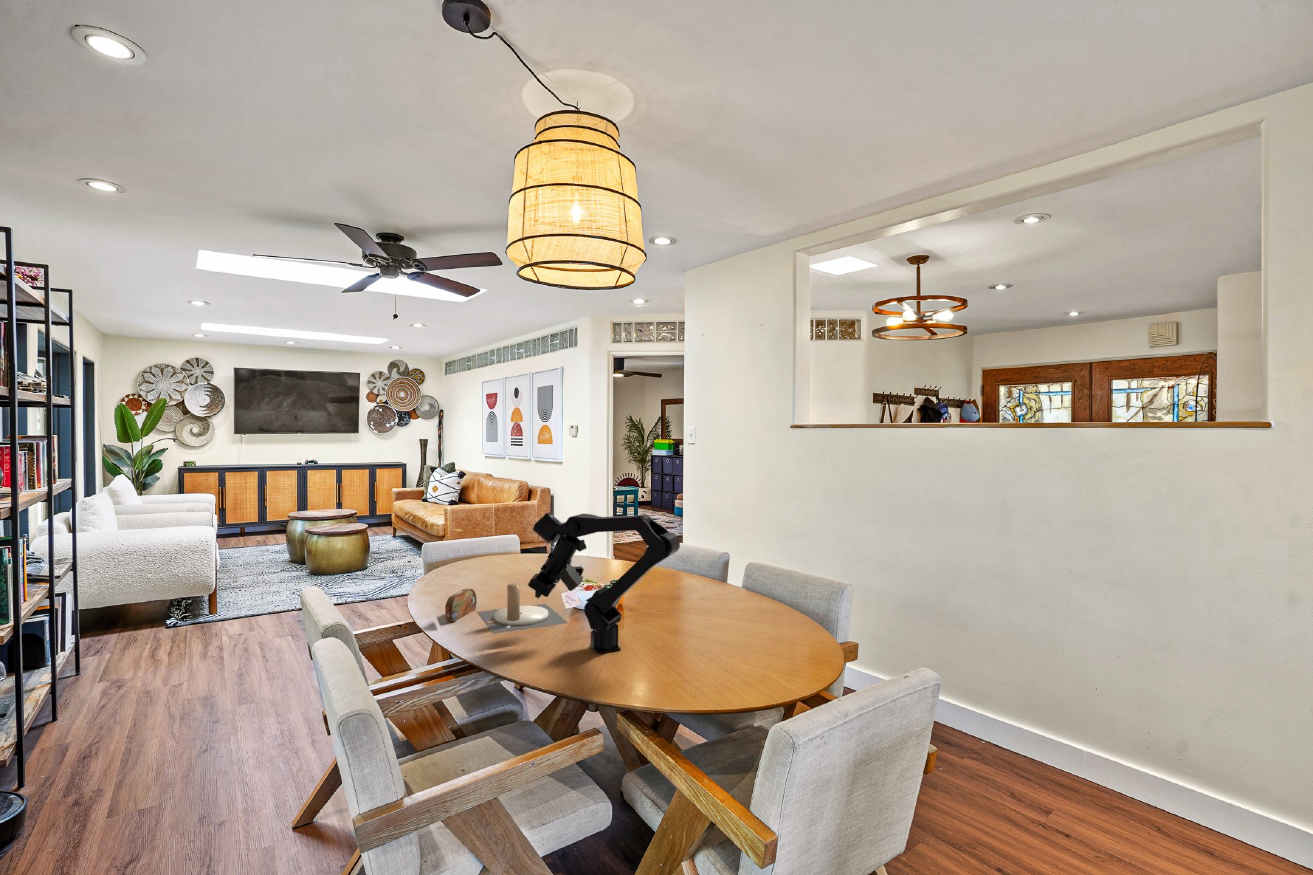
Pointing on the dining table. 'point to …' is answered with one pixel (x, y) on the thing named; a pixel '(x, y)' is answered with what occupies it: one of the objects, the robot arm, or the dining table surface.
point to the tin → (460, 604)
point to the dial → (519, 610)
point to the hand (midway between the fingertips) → (537, 597)
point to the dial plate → (498, 627)
